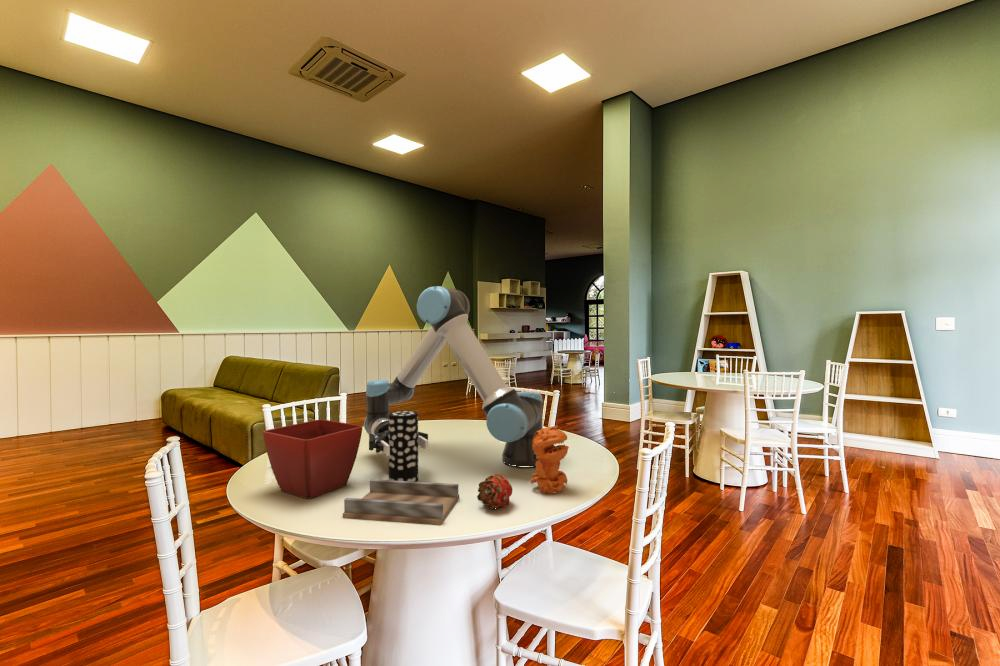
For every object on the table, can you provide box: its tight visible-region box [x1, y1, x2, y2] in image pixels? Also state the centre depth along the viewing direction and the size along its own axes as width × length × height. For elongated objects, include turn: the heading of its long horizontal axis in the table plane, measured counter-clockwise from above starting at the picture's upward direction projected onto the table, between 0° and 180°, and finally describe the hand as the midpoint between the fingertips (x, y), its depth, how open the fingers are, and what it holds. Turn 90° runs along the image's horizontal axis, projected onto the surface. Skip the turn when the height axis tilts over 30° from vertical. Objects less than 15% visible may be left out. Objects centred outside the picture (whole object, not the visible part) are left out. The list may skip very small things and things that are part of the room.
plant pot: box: [262, 418, 364, 499], centre depth 126 cm, size 19×19×17 cm
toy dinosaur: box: [529, 424, 570, 494], centre depth 124 cm, size 11×11×18 cm
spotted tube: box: [388, 410, 419, 482], centre depth 130 cm, size 8×8×20 cm
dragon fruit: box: [476, 473, 513, 510], centre depth 113 cm, size 8×8×12 cm
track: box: [342, 478, 460, 526], centre depth 112 cm, size 24×16×4 cm, turn 80°
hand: (408, 447), depth 126 cm, fingers open, 10 cm apart
